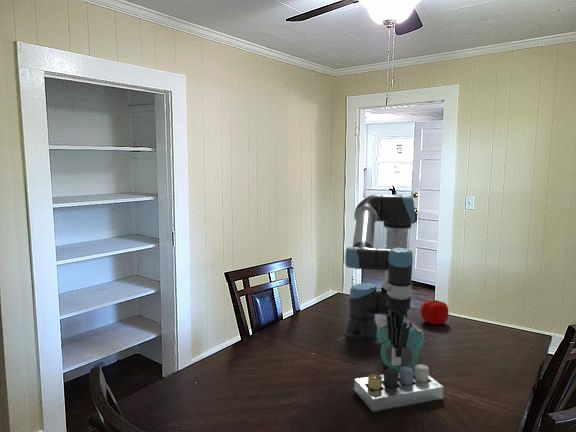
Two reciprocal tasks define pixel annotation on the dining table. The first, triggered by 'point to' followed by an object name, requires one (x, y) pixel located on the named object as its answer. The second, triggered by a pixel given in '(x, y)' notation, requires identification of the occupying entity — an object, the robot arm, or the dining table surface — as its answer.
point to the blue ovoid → (406, 376)
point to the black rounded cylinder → (390, 378)
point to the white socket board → (398, 394)
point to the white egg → (421, 373)
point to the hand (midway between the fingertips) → (396, 364)
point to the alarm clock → (408, 353)
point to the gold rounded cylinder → (374, 382)
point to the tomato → (434, 312)
